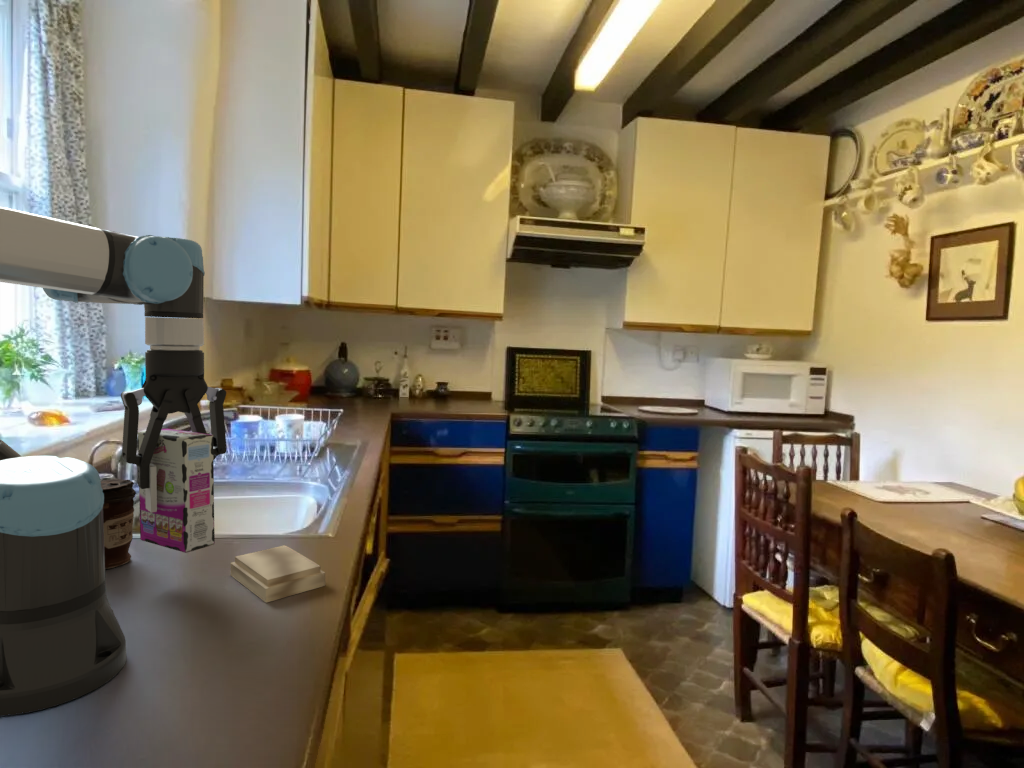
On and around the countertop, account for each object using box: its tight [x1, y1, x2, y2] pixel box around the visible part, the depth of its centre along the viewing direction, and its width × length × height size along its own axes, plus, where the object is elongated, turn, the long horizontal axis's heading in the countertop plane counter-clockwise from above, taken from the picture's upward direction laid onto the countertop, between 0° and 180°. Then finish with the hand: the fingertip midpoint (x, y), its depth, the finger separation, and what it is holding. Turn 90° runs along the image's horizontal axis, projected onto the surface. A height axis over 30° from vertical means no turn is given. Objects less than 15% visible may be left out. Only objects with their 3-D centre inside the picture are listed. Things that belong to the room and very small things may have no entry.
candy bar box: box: [137, 428, 216, 554], centre depth 94 cm, size 11×5×16 cm, turn 61°
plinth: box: [229, 544, 326, 603], centre depth 98 cm, size 9×13×3 cm
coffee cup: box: [100, 478, 137, 570], centre depth 103 cm, size 9×8×13 cm
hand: (176, 505), depth 95 cm, fingers closed on candy bar box, 6 cm apart
